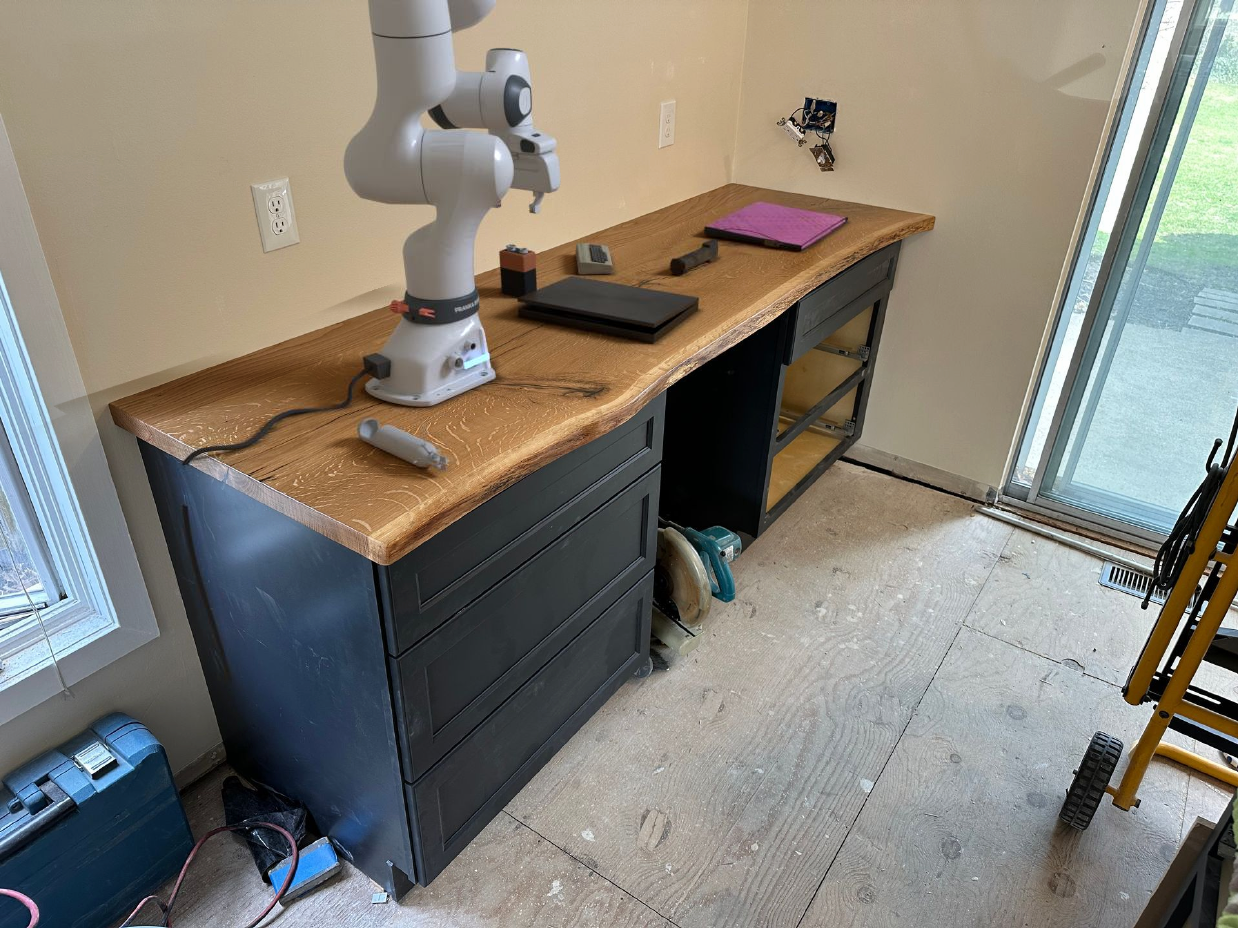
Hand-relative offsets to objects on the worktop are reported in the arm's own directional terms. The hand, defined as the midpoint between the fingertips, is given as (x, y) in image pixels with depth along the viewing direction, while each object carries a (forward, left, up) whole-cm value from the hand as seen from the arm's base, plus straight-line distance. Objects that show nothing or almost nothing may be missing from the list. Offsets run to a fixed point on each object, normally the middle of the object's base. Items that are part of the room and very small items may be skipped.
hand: (515, 210), depth 177 cm
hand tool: (+37, -25, -18) cm, 48 cm away
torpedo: (-68, -26, -18) cm, 75 cm away
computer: (+26, -4, -18) cm, 31 cm away
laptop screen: (-2, -23, -15) cm, 28 cm away
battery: (0, 0, -18) cm, 18 cm away
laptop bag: (+76, -31, -18) cm, 84 cm away
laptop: (-2, -23, -18) cm, 29 cm away
